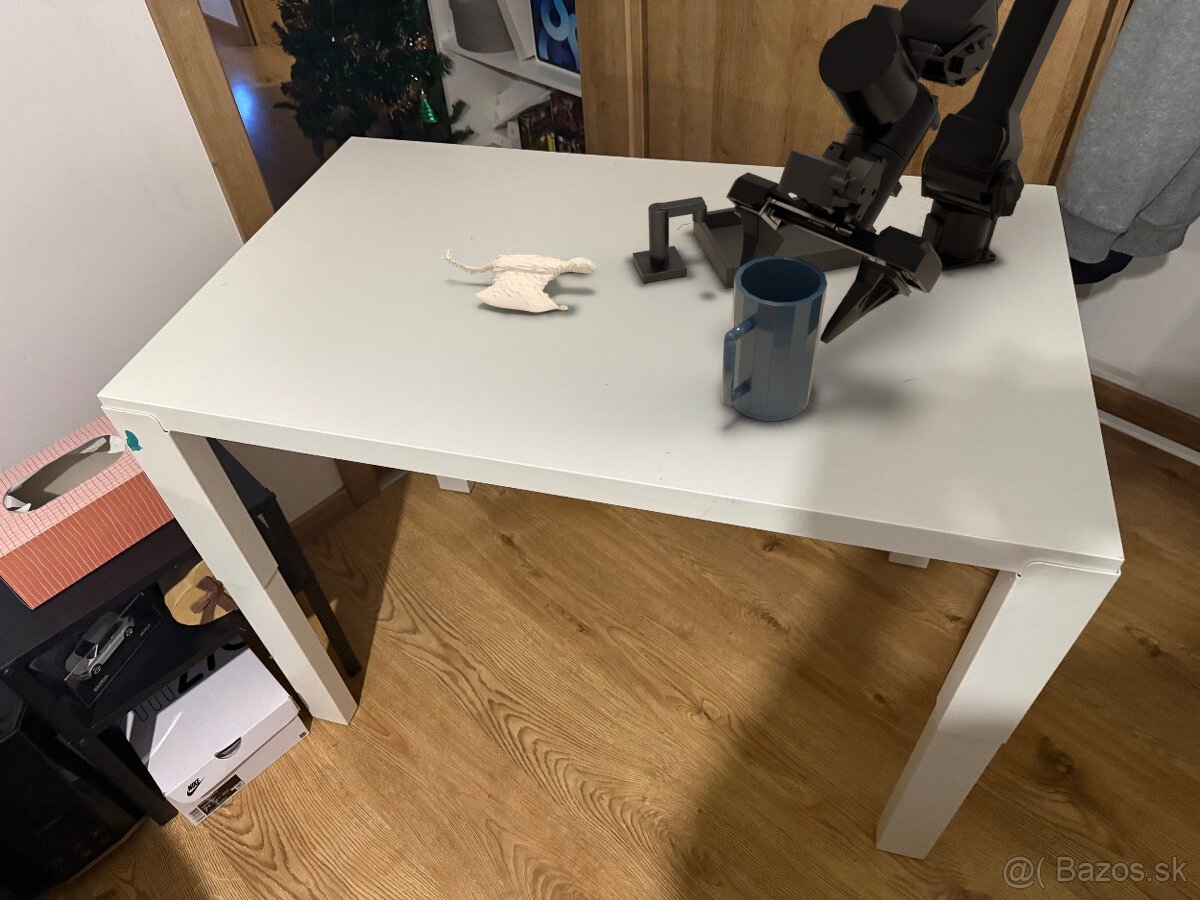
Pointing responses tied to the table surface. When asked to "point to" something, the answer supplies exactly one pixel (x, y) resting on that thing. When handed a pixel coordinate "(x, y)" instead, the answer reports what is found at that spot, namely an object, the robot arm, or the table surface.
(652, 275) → the tap
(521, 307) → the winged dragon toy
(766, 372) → the mug
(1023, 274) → the table surface
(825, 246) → the tray
